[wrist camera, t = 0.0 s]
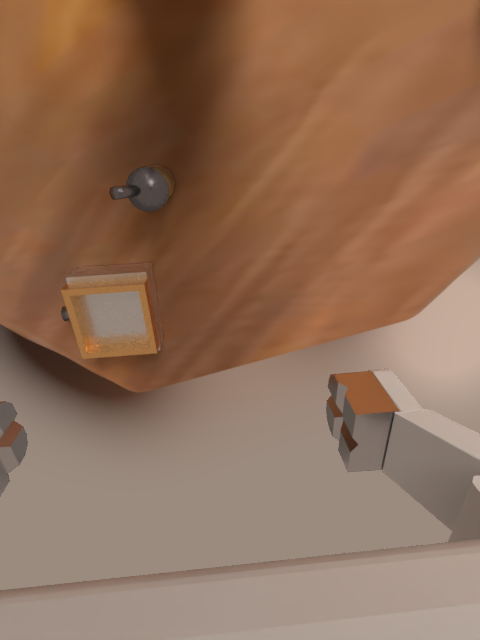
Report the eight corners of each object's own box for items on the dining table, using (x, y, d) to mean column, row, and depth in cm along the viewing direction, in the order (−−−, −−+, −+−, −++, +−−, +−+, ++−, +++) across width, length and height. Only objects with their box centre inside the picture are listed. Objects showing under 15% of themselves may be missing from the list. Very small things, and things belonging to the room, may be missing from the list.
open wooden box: (58, 268, 55) (37, 285, 48) (151, 262, 56) (143, 277, 49) (81, 342, 62) (65, 365, 55) (164, 335, 62) (158, 358, 56)
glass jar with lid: (125, 165, 49) (102, 170, 39) (173, 162, 49) (162, 167, 39) (132, 203, 51) (112, 217, 41) (178, 200, 52) (169, 213, 41)
